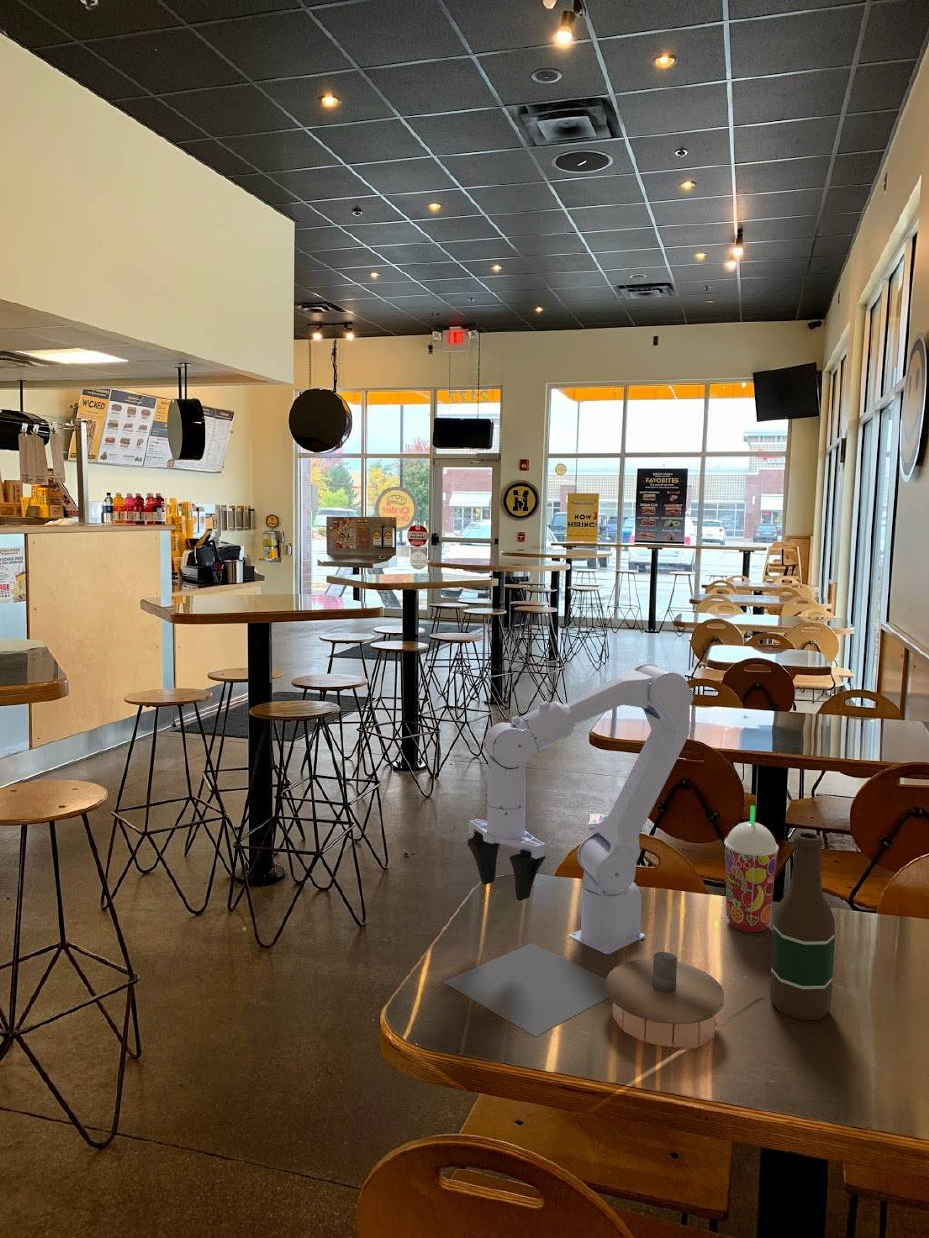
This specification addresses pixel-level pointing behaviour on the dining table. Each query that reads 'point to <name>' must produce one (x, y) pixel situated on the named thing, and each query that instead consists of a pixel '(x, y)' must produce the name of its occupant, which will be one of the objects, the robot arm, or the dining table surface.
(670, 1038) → the bowl
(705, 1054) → the dining table surface
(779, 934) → the beer bottle
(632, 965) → the lid
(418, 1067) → the dining table surface
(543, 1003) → the mat
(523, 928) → the dining table surface
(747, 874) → the smoothie
